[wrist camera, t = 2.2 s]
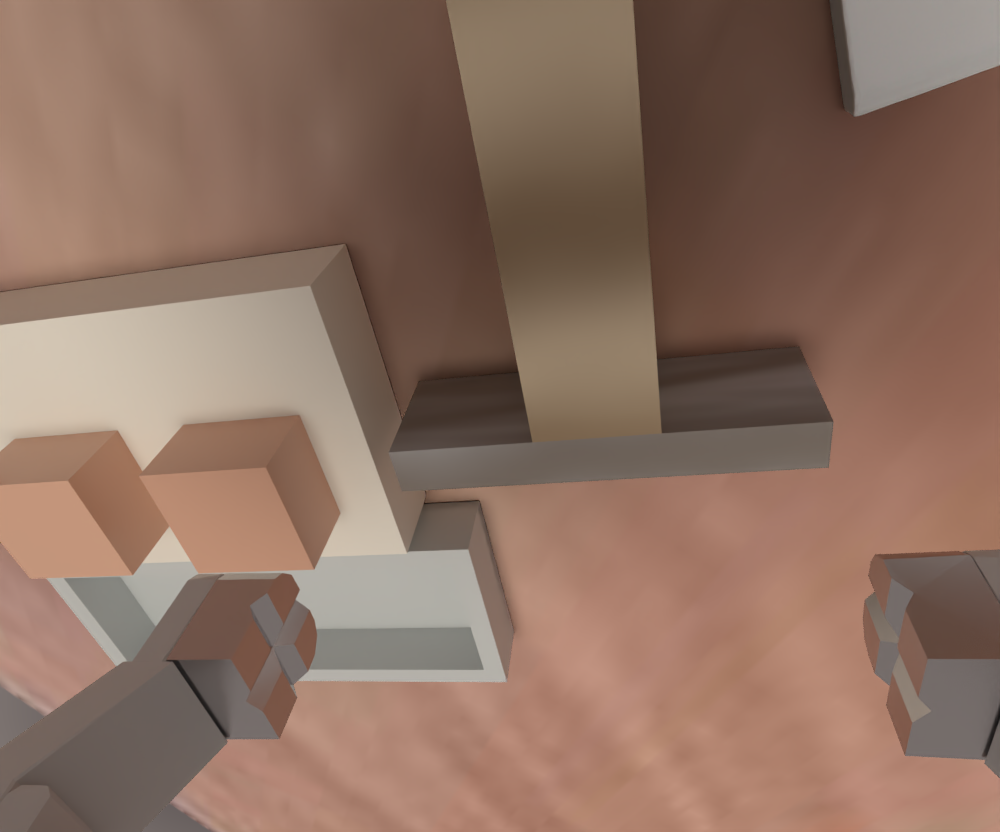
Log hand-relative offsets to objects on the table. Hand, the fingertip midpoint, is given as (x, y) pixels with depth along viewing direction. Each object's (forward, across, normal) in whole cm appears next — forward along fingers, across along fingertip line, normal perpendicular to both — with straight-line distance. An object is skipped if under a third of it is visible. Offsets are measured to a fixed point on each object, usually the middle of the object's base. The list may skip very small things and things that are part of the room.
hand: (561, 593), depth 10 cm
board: (+12, +14, +3) cm, 19 cm away
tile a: (+9, +17, +4) cm, 20 cm away
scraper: (+12, 0, -3) cm, 13 cm away
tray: (+13, +14, +13) cm, 23 cm away
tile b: (+9, +11, +4) cm, 15 cm away
